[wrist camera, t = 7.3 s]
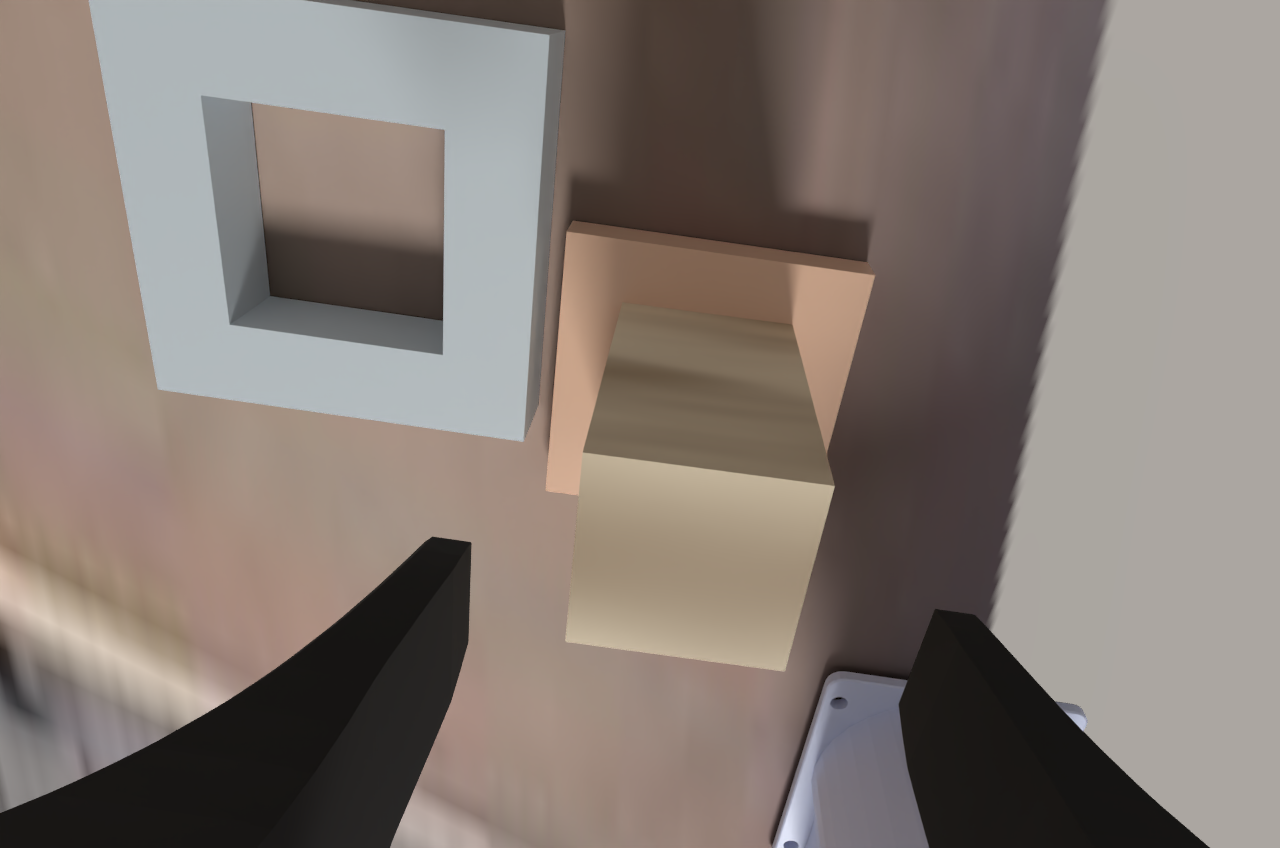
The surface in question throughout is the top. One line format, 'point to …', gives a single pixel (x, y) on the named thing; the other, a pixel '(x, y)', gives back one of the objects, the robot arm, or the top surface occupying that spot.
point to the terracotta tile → (700, 282)
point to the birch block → (698, 491)
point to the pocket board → (232, 215)
